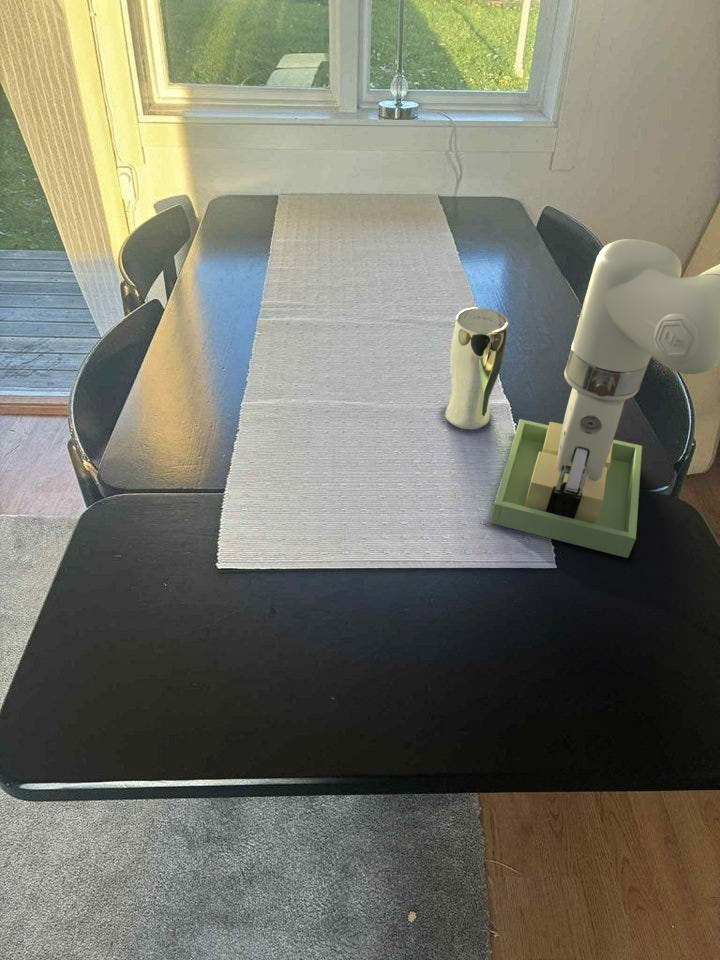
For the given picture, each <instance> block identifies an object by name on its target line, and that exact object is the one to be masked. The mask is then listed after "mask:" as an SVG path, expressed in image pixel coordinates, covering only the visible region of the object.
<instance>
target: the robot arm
mask: <svg viewBox="0 0 720 960" xmlns="http://www.w3.org/2000/svg"><path fill="white" fill-rule="evenodd" d="M592 268H593V269H592V272H591V276H590V280H589V283H588V287H587V290H586V293H585V297H584V300H583V304H582V307H581V308H582V309H581V310H580V315H579V319H578V321H577V325H576V330H575V334H574V337H573V340H572V344H571V347H570V351H569V353H568V358H567V361H566V365H565V368H564V371H563V373H564V374H563V375H564V379H565V381H566V382H567V383H568V385H569V386H570V387H571V391H570V395H569V398H568V402H567V406H566V410H565V413H564V416H563V417H564V418H563V422H562V424H563V427H562V432H561V437H560V444H559V450H558V457H557V464H556V468H557V470H558V471H559V472H560V474H559V478H558V481H557V485H556V486H553V490H552V493H551V496H550V499H549V503H548V506H547V509H546V512H548V513H552V514H556V515H560V516H564V517H568V518H572V519H574V518H575V515H576V512H577V510H578V507H579V504H580V501H581V498H582V494H583V493H582V490H583V487H584V483H585V480H586V477H587V473H588V477H589V479H591V480H594V481H598V480H599V479H601V476H602V473H603V470H604V466H605V463H606V460H607V457H608V454H609V451H610V448H611V445H612V442H613V440H615V436H616V432H617V430H618V427H619V424H620V420H621V417H622V413H623V410H624V405H625V401H626V400H628V399H630V398H633V397H634V396H636V394H638V393H639V391H640V388H641V385H642V382H643V379H644V378H645V374H646V372H647V369H648V366H649V364H650V361H651V358H653V359H654V360H655V361H656V362H658V363H659V364H660V365H663V366H665V367H666V368H668V369H670V370H672V371H674V372H676V373H680V374H686V375H697V374H698V375H699V374H701V373H706V372H708V371H711V370H713V369H715V368H717V367H718V366H719V365H720V263H719V264H717V265H715V266H713V267H711V268H709V269H707V270H706V271H702V273H700V274H698V275H695V276H687V277H681V275H682V263H681V260H680V258H679V256H678V255H677V254H676V253H675V252H674V251H672V250H671V249H670V248H668V247H666V246H664V245H662V244H659V243H656V242H652V241H648V240H644V239H634V238H627V239H619V240H615V241H612V242H610V243H608V244H606V245H605V246H604V247H603V248H602V249H601V250H600V251H599V253H598V255H597V256H596V258H595V262H594V265H593V267H592ZM569 462H572V465H571V466H568V465H567V464H568V463H569ZM584 466H585V468H584ZM565 473H567V474H569V476H568V480H567V482H563V480H564V476H565Z"/></svg>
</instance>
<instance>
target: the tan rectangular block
mask: <svg viewBox="0 0 720 960" xmlns="http://www.w3.org/2000/svg"><path fill="white" fill-rule="evenodd" d="M557 457H558V456H556V455H552V454H548V453H544V452H539V454H538V457H537V461H536V464H535V468H534V472H533V475H532V479H531V483H530V487H529V491H528V495H527V499H526V503H525V506H524V507H528V508H532V509H536V510H540V511H544V512H546V509H547V506H548V503H549V499H550V496H551V493H552V490H553V486H556V485H557V481H558V478H559V474H560V472H559V471H558V470H557V468H556V464H557ZM567 465H568V466H571V465H572V462H569V463H568V464H567ZM584 468H585V466H584ZM568 476H569V474H567V473H565V476H564V480H563V482H567V480H568ZM606 476H607V468H606V467H604V470H603V473H602V476H601V479H599V480H598V481H594V480H591V479H589V477H588V473H587V477H586V480H585V483H584V487H583V490H582V493H583V494H582V498H581V501H580V504H579V507H578V510H577V512H576V515H575V518H574V519H576V520H580V521H584V522H588V523H592V524H595V521H596V519H597V516H598V513H599V511H600V508H601V505H602V503H603V499H604V491H605V484H606Z"/></svg>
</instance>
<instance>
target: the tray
mask: <svg viewBox="0 0 720 960" xmlns="http://www.w3.org/2000/svg"><path fill="white" fill-rule="evenodd" d="M548 427H549V424H544V423H541V422H540V423H539V422H534V421H531V420H525V419H522V418H520V419H519V420H518V424H517V427H516V431H515V434H514V437H513V441H512V444H511V447H510V451H509V454H508V457H507V460H506V463H505V466H504V467H505V468H504V470H503V474H502V477H501V480H500V484H499V487H498V490H497V494H496V497H495V501H494V504H493V507H492V508H493V509H492V513H491V519H490V524H493V525H496V526H501V527H504V528H509V529H512V530H516V531H520V532H523V533H528V534H533V535H535V536H540V537H544V538H547V539H551V540H555V541H559V542H563V543H566V544H567V543H568V544H571V545H575V546H578V547H583V548H587V549H590V550H595V551H598V552H602V553H606V554H610V555H613V556H617V557H622V558H626V559H628V558H629V557H630V554H631V552H632V549H633V547H634V545H635V542H636V540H637V527H638V515H639V514H638V512H639V497H640V483H641V469H642V456H643V455H642V454H643V445H640V444H635V443H631V442H628V441H627V442H626V441H622V440H618V439H613V447H612V456H611V464H610V467H609V470H608V473H607V476H606V484H605V491H604V499H603V503H602V505H601V508H600V511H599V513H598V516H597V519H596V521H595V524H592V523H588V522H584V521H580V520H576V519H572V518H568V517H564V516H560V515H556V514H552V513H548V512H544V511H540V510H536V509H532V508H528V507H524V506H525V503H526V499H527V495H528V491H529V487H530V483H531V479H532V475H533V472H534V468H535V464H536V461H537V457H538V454H539V452H542V450H543V446H544V442H545V438H546V435H547V431H548Z"/></svg>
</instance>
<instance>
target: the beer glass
mask: <svg viewBox="0 0 720 960" xmlns="http://www.w3.org/2000/svg"><path fill="white" fill-rule="evenodd" d="M455 319H456V320H455V324H454V328H453V331H452V337H451V344H450V351H449V359H450V360H449V365H450V366H449V367H450V369H449V370H450V385H451V389H450V390H451V391H450V398H449V401H448V404H447V407H446V409H445V414H444V416H445V419H446V420H447V421H448V423H450V424H451V425H453V426H454V427H456V428H459V429H462V430H478V429H481V428H483V427H485V426H487V425H488V423H489V421H490V401H491V400H490V399H491V396H492V393H493V389H494V387H495V384H496V382H497V380H498V377H499V375H500V372H501V369H502V366H503V363H504V359H505V354H506V349H507V342H508V330H509V324H510V322H509V319H508V317H507V316H506V315H504V314H503V313H502V312H500V311H498V310H494V309H492V308H486V307H470V308H465V309H463V310H461V311H459V313H458V314H457V315H456V318H455Z"/></svg>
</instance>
